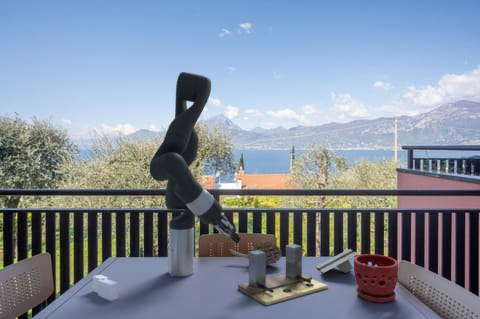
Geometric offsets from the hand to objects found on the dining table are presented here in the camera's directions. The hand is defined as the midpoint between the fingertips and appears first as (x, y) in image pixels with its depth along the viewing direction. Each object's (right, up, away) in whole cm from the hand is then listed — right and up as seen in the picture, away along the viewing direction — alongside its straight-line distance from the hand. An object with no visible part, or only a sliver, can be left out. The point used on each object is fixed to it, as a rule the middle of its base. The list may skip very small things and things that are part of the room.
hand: (237, 240), depth 112 cm
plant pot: (+43, -18, -1) cm, 47 cm away
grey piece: (+38, -18, +23) cm, 47 cm away
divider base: (+14, -17, +7) cm, 23 cm away
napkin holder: (-42, -18, 0) cm, 46 cm away
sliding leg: (+8, -16, +2) cm, 18 cm away
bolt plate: (+17, -17, +2) cm, 25 cm away
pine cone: (+7, -17, +31) cm, 36 cm away
